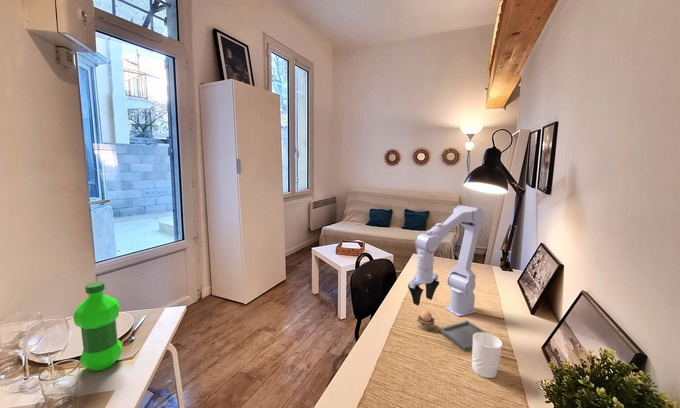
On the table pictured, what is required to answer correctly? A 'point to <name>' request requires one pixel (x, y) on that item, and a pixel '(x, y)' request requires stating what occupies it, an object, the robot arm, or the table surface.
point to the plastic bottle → (98, 328)
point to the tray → (461, 334)
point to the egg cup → (425, 324)
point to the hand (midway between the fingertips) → (422, 301)
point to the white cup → (486, 354)
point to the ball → (426, 316)
